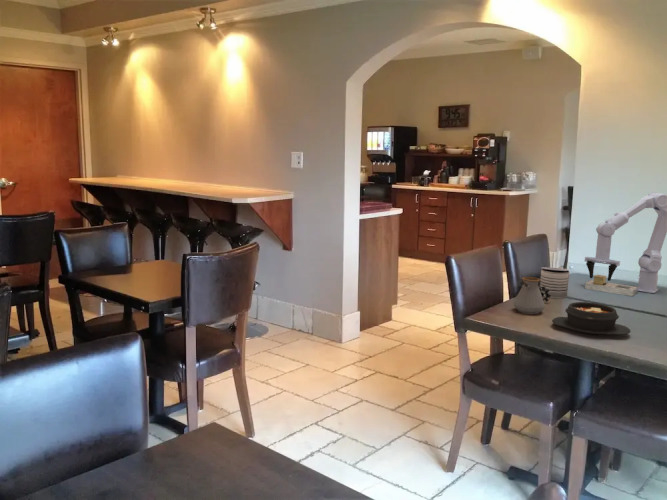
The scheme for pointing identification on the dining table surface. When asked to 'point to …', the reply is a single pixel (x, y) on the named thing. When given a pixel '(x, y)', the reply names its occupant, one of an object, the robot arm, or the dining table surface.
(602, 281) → the brass block
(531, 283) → the coffee pot
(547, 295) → the black upright ornate piece
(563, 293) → the striped ceramic pot
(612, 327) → the casserole
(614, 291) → the rail
